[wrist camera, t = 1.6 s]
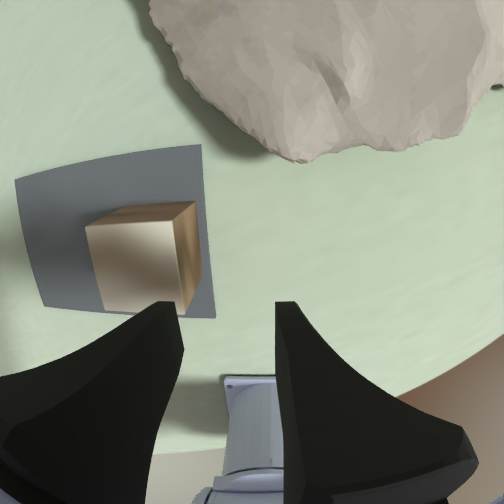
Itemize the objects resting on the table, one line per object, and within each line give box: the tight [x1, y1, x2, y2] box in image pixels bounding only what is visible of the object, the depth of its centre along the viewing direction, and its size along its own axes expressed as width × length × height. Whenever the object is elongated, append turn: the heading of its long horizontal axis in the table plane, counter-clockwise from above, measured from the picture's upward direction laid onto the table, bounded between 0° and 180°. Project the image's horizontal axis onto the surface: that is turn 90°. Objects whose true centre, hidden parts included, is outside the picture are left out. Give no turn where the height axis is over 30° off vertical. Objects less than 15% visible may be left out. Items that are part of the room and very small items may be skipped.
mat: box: [15, 144, 216, 318], centre depth 19 cm, size 12×17×1 cm
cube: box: [85, 201, 203, 315], centre depth 16 cm, size 5×5×5 cm
